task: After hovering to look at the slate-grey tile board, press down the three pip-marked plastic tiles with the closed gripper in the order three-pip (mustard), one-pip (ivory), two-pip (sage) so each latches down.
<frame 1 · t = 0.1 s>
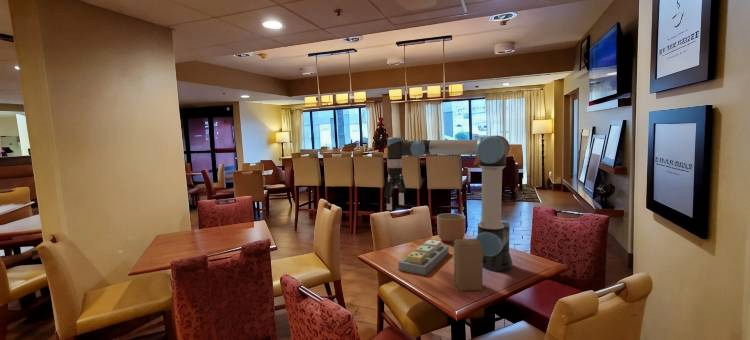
hand: (395, 207, 189), 28 cm above the table, fingers open, 13 cm apart
wooden block: (467, 286, 157), on the table
tile three: (416, 258, 178), point 5 cm above the table, slide at 0.0 cm
tile board: (425, 261, 188), on the table
tile one: (432, 245, 197), point 5 cm above the table, slide at 0.0 cm
planter: (451, 240, 222), on the table
tile two: (424, 251, 187), point 5 cm above the table, slide at 0.0 cm
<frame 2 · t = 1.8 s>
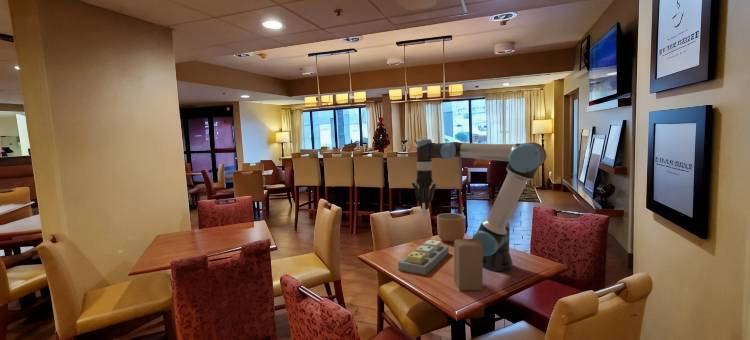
hand: (424, 215, 185), 24 cm above the table, fingers closed
nothing on the table moved.
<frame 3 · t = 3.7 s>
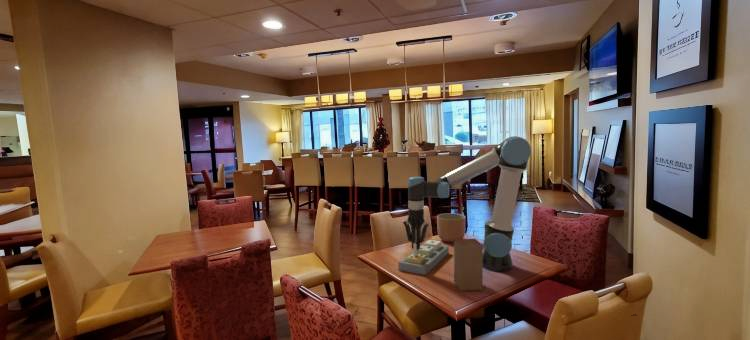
hand: (415, 255, 178), 7 cm above the table, fingers closed
tile three: (416, 260, 178), point 4 cm above the table, slide at 0.9 cm, touching gripper
everything else where it was.
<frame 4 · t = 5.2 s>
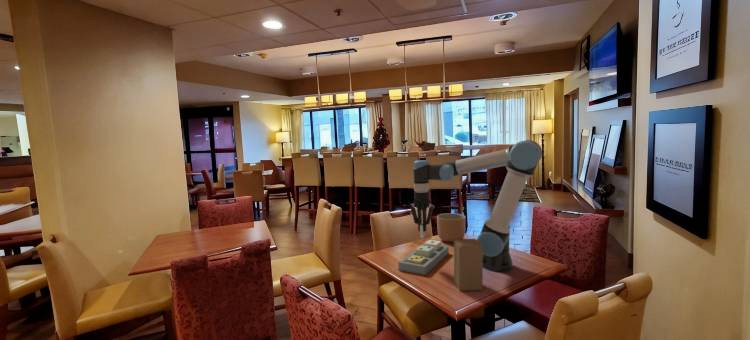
hand: (422, 237, 182), 14 cm above the table, fingers closed
tile three: (416, 261, 178), point 3 cm above the table, slide at 1.8 cm
everything else where it was.
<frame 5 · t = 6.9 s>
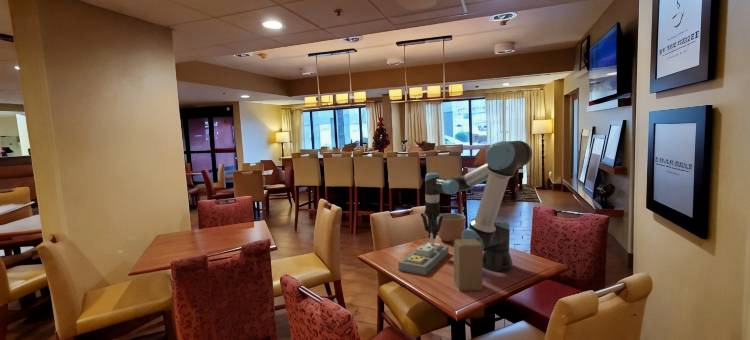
hand: (432, 244, 197), 6 cm above the table, fingers closed
tile one: (432, 248, 197), point 4 cm above the table, slide at 1.6 cm, touching gripper
everything else where it was.
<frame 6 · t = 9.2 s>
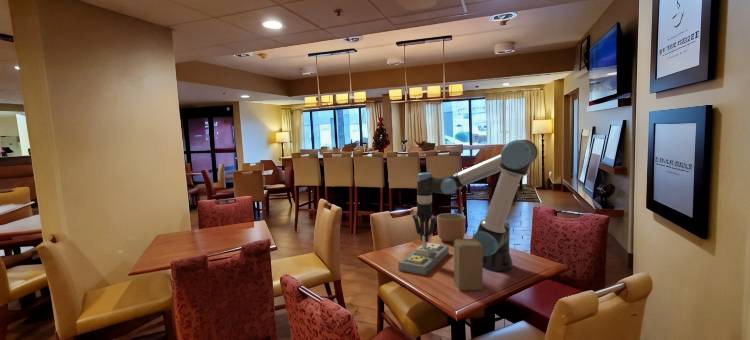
hand: (424, 247, 187), 7 cm above the table, fingers closed
tile one: (432, 248, 197), point 3 cm above the table, slide at 1.8 cm
tile two: (424, 251, 187), point 5 cm above the table, slide at 0.1 cm, touching gripper
everything else where it was.
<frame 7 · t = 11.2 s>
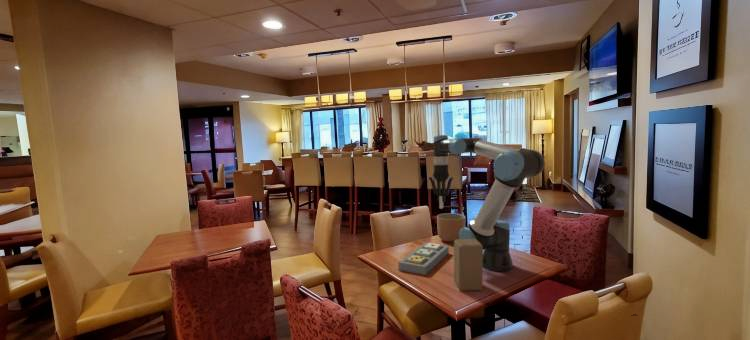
hand: (441, 208, 193), 26 cm above the table, fingers closed
tile two: (424, 255, 187), point 3 cm above the table, slide at 1.8 cm
everything else where it was.
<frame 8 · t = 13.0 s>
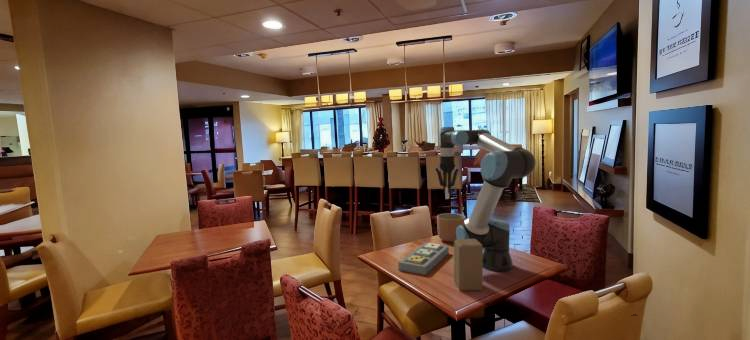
hand: (447, 198, 197), 30 cm above the table, fingers closed
nothing on the table moved.
at the end: tile three slide at 1.8 cm; tile one slide at 1.8 cm; tile two slide at 1.8 cm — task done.
